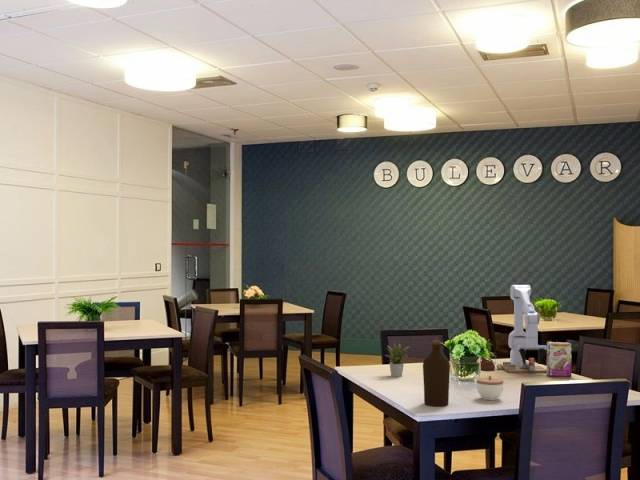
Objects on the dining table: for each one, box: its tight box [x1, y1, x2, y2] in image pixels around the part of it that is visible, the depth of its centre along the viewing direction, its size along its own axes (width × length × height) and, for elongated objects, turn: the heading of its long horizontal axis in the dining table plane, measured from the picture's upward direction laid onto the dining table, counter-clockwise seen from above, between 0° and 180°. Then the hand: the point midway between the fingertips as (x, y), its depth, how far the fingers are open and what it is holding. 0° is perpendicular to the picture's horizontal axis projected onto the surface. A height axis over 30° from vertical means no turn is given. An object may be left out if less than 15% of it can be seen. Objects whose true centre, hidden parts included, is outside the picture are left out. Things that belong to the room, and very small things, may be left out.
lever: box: [520, 357, 536, 371], centre depth 362 cm, size 16×5×6 cm, turn 1°
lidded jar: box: [476, 375, 504, 401], centre depth 290 cm, size 11×11×9 cm
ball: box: [496, 363, 503, 370], centre depth 367 cm, size 3×3×3 cm
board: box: [501, 361, 547, 374], centre depth 364 cm, size 15×20×4 cm
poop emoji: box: [480, 358, 497, 372], centre depth 367 cm, size 10×8×9 cm
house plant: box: [384, 342, 411, 378], centre depth 344 cm, size 14×14×16 cm
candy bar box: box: [546, 341, 573, 378], centre depth 348 cm, size 11×5×16 cm, turn 84°
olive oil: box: [422, 339, 451, 407], centre depth 279 cm, size 11×11×25 cm
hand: (531, 363), depth 356 cm, fingers open, 7 cm apart
